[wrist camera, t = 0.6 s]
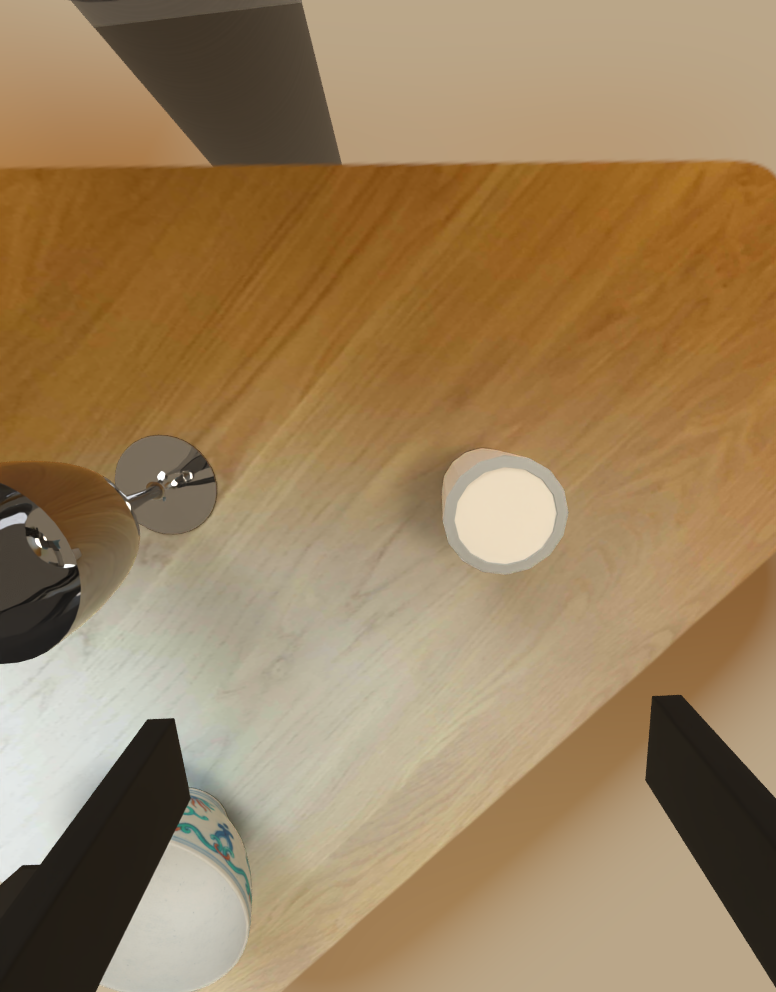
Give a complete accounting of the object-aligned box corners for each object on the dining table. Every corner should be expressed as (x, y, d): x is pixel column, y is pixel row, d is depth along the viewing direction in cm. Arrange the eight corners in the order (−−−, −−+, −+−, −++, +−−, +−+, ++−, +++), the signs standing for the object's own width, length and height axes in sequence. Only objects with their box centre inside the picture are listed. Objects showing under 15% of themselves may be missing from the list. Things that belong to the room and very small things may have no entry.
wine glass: (109, 420, 31) (-141, 456, 17) (226, 438, 31) (80, 489, 17) (109, 530, 33) (-115, 649, 19) (219, 546, 33) (83, 676, 19)
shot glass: (452, 425, 31) (468, 438, 24) (547, 457, 31) (589, 478, 25) (419, 518, 33) (425, 555, 26) (510, 547, 33) (539, 590, 26)
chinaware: (226, 909, 42) (190, 1024, 34) (74, 838, 40) (0, 943, 33) (308, 797, 39) (287, 898, 31) (146, 715, 37) (82, 800, 29)
